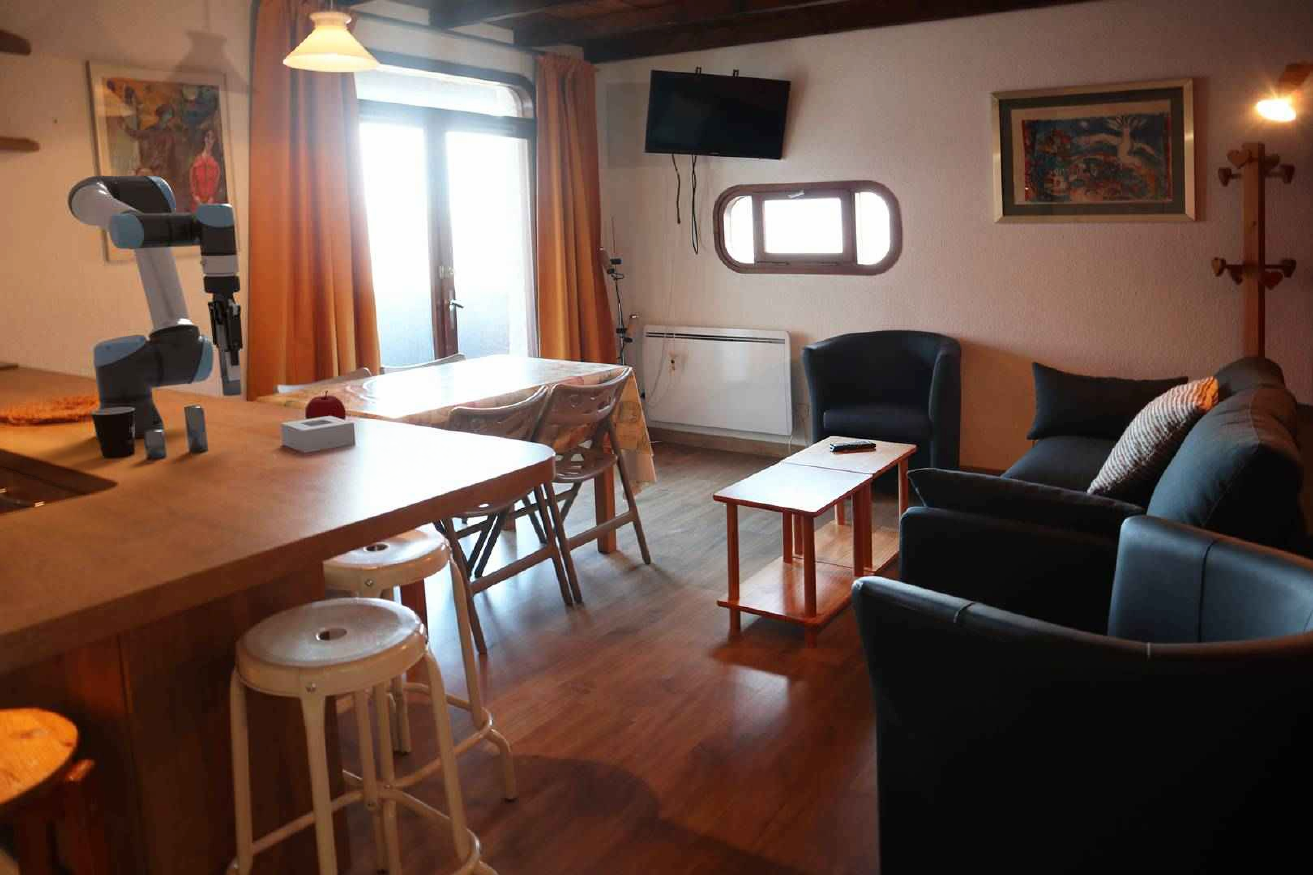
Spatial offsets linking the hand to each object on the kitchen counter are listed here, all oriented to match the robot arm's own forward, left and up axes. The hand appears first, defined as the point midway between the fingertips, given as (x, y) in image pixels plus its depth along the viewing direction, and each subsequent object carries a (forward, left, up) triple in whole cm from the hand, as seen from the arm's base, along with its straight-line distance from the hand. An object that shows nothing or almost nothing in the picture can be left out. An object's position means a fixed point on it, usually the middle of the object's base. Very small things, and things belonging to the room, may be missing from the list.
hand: (230, 378), depth 244 cm
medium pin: (+1, -9, -15) cm, 18 cm away
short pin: (+1, -18, -15) cm, 24 cm away
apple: (+1, +21, -16) cm, 26 cm away
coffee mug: (-9, -22, -16) cm, 29 cm away
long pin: (0, 0, -4) cm, 4 cm away
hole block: (+15, +13, -15) cm, 25 cm away
